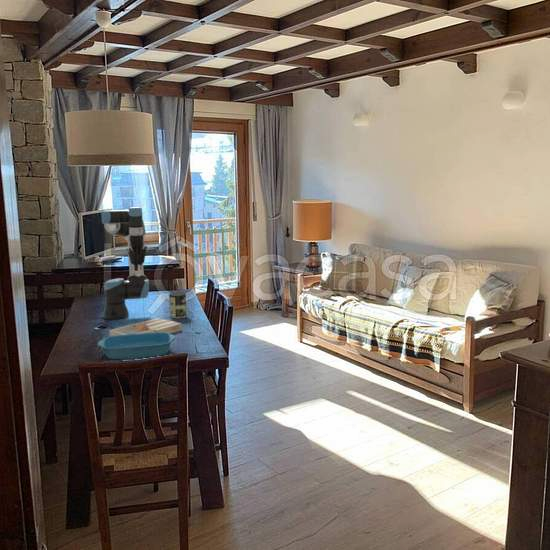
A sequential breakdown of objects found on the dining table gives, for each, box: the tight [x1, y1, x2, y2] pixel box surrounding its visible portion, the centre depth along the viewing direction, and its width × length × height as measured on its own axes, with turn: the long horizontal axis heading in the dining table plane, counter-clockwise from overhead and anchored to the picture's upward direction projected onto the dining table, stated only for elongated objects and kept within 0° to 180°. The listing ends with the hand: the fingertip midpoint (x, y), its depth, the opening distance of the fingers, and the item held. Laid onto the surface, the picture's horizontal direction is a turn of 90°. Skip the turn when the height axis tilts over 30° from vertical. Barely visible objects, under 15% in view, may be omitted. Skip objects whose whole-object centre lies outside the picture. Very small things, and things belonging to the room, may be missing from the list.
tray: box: [108, 323, 154, 337], centre depth 302 cm, size 18×16×4 cm
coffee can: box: [168, 292, 188, 319], centre depth 348 cm, size 10×10×14 cm
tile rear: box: [133, 322, 148, 333], centre depth 306 cm, size 6×6×3 cm
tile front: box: [122, 330, 138, 334], centre depth 301 cm, size 6×6×3 cm
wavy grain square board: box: [133, 317, 183, 334], centre depth 315 cm, size 20×18×4 cm
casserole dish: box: [97, 332, 176, 360], centre depth 276 cm, size 37×22×7 cm, turn 103°
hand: (138, 276), depth 321 cm, fingers closed
